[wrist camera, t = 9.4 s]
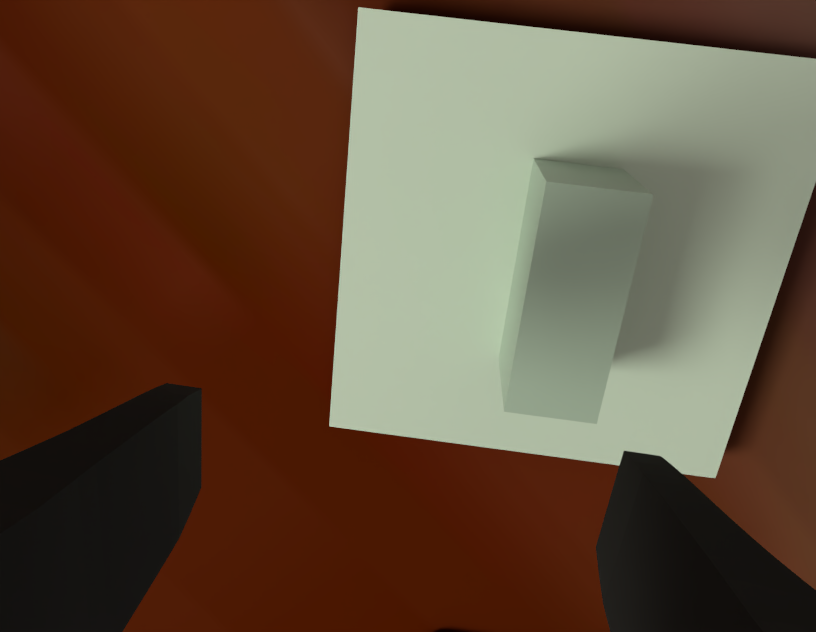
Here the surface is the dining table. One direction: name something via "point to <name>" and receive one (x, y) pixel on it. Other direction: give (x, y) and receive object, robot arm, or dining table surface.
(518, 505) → the dining table surface
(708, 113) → the lid
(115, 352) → the dining table surface
